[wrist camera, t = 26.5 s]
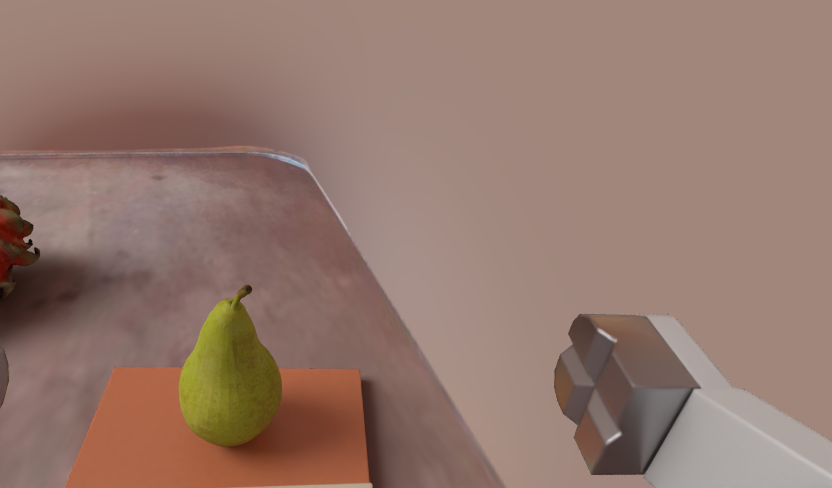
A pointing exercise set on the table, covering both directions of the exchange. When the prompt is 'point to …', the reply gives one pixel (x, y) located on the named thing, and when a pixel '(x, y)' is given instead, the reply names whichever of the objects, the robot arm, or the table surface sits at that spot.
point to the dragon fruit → (13, 244)
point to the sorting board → (216, 465)
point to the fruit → (229, 378)
